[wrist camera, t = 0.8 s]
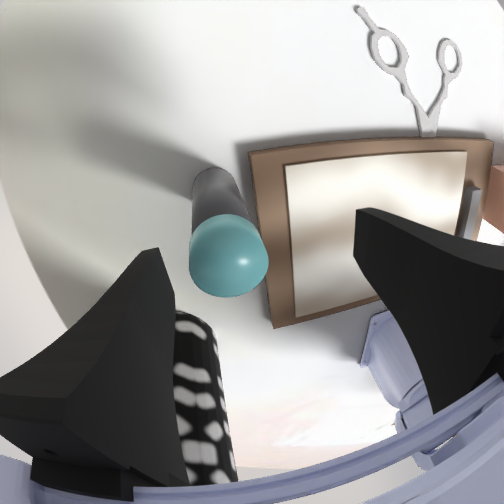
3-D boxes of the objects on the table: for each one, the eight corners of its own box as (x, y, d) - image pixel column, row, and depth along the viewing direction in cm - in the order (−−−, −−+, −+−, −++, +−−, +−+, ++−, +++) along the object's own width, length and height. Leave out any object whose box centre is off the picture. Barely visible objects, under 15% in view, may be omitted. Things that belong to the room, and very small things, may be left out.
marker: (240, 204, 19) (271, 288, 12) (196, 213, 19) (199, 303, 12) (233, 162, 18) (264, 222, 10) (187, 171, 17) (179, 240, 10)
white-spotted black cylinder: (201, 300, 23) (238, 571, 6) (226, 359, 28) (265, 556, 11) (112, 321, 23) (90, 556, 6) (151, 374, 27) (157, 559, 10)
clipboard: (463, 263, 27) (473, 272, 26) (271, 321, 26) (276, 337, 24) (486, 139, 19) (501, 144, 18) (248, 152, 17) (253, 159, 16)
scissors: (457, 27, 13) (456, 228, 24) (451, 27, 14) (452, 225, 24) (357, 6, 13) (375, 255, 23) (351, 8, 13) (371, 250, 24)
